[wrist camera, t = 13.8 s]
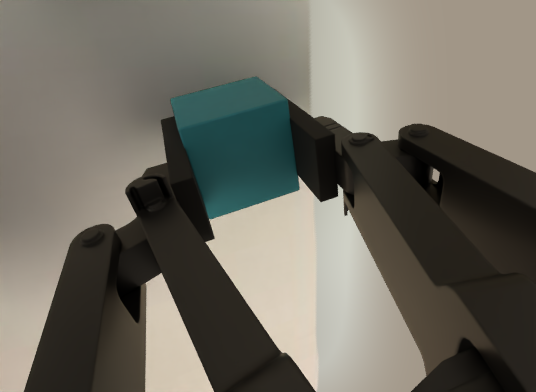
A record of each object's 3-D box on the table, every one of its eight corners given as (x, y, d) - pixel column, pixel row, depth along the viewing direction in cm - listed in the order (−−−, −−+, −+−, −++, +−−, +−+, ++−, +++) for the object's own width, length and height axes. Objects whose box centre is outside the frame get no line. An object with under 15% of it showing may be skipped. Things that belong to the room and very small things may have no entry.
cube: (169, 98, 16) (177, 129, 12) (256, 75, 16) (288, 98, 13) (196, 175, 18) (209, 220, 15) (270, 153, 19) (300, 190, 15)
